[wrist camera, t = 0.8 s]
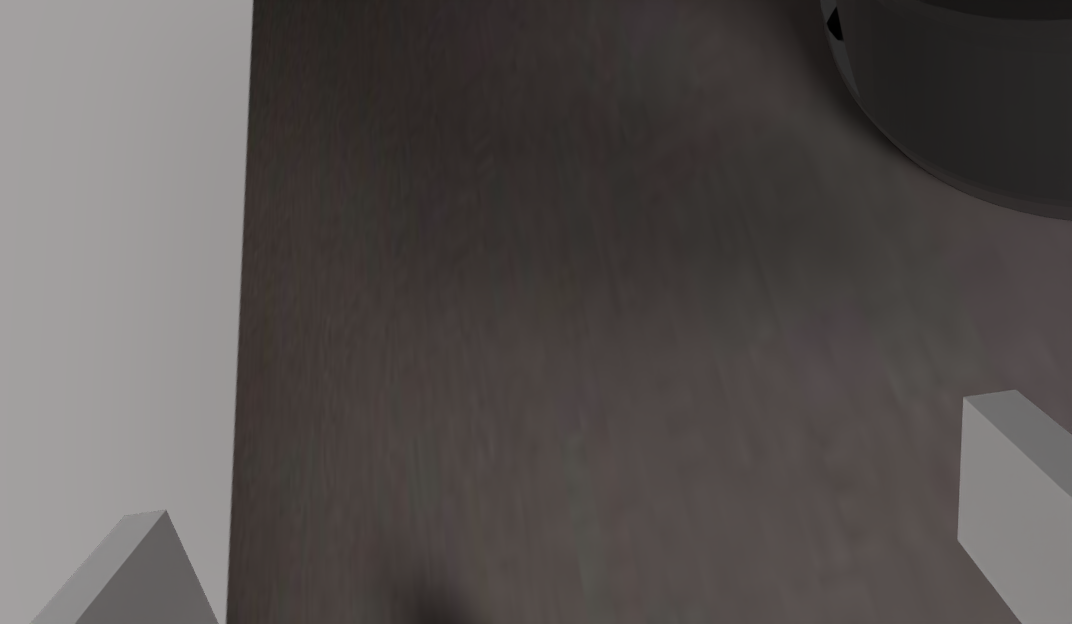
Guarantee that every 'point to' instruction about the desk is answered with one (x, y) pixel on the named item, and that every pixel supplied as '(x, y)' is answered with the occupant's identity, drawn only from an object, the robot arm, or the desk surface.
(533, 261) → the desk surface
